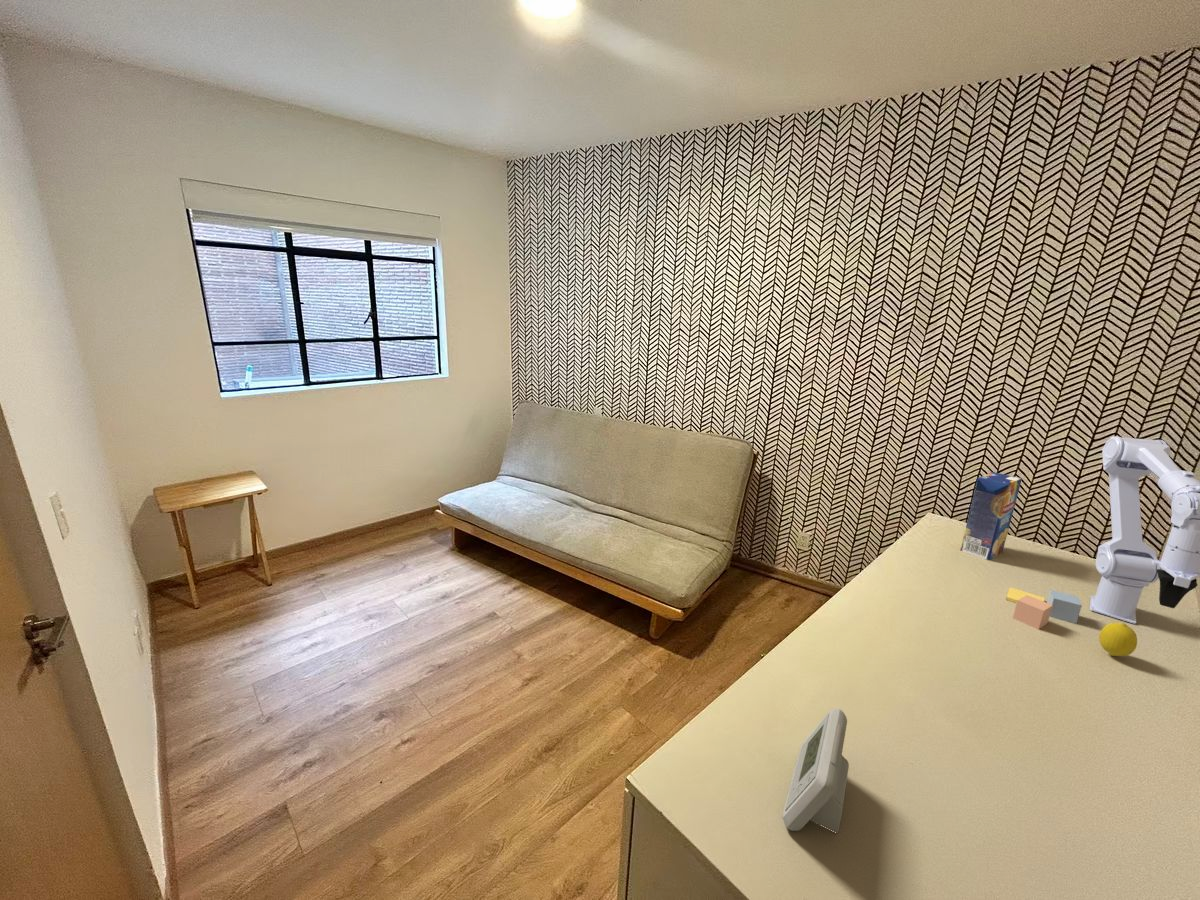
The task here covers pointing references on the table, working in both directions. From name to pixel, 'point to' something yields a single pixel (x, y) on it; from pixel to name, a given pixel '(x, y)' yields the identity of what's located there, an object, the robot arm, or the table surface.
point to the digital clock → (819, 777)
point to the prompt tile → (1020, 595)
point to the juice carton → (990, 515)
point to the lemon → (1118, 639)
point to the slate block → (1064, 606)
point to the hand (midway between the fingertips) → (1166, 605)
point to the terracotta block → (1032, 611)
